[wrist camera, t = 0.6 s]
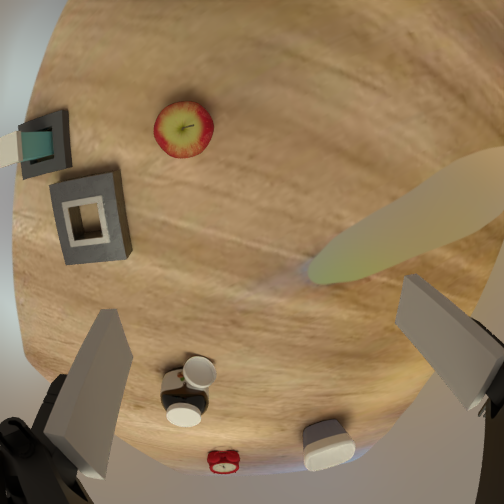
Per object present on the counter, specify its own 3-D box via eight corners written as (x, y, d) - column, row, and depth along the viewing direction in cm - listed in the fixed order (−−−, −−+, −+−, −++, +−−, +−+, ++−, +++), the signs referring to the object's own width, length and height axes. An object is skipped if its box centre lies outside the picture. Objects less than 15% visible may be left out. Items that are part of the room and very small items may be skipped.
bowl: (343, 433, 78) (354, 459, 68) (298, 447, 77) (306, 474, 67) (345, 409, 72) (358, 438, 62) (293, 425, 71) (303, 455, 61)
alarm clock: (209, 475, 74) (205, 466, 65) (208, 459, 79) (204, 448, 70) (240, 474, 75) (242, 465, 67) (239, 458, 80) (240, 446, 72)
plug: (37, 136, 37) (-4, 139, 26) (56, 130, 38) (16, 130, 27) (39, 159, 39) (-2, 168, 28) (57, 154, 39) (18, 161, 28)
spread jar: (166, 388, 60) (162, 427, 49) (158, 353, 56) (150, 393, 45) (217, 388, 62) (220, 427, 51) (215, 352, 58) (217, 394, 47)
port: (60, 181, 41) (48, 185, 37) (120, 169, 42) (111, 172, 38) (74, 256, 46) (65, 265, 42) (132, 250, 48) (126, 260, 44)
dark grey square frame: (25, 125, 36) (18, 125, 34) (68, 110, 37) (61, 109, 35) (29, 177, 40) (22, 179, 38) (72, 166, 41) (66, 168, 39)
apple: (216, 152, 44) (217, 154, 34) (163, 160, 43) (150, 165, 34) (211, 102, 41) (210, 91, 31) (157, 110, 40) (142, 102, 31)
